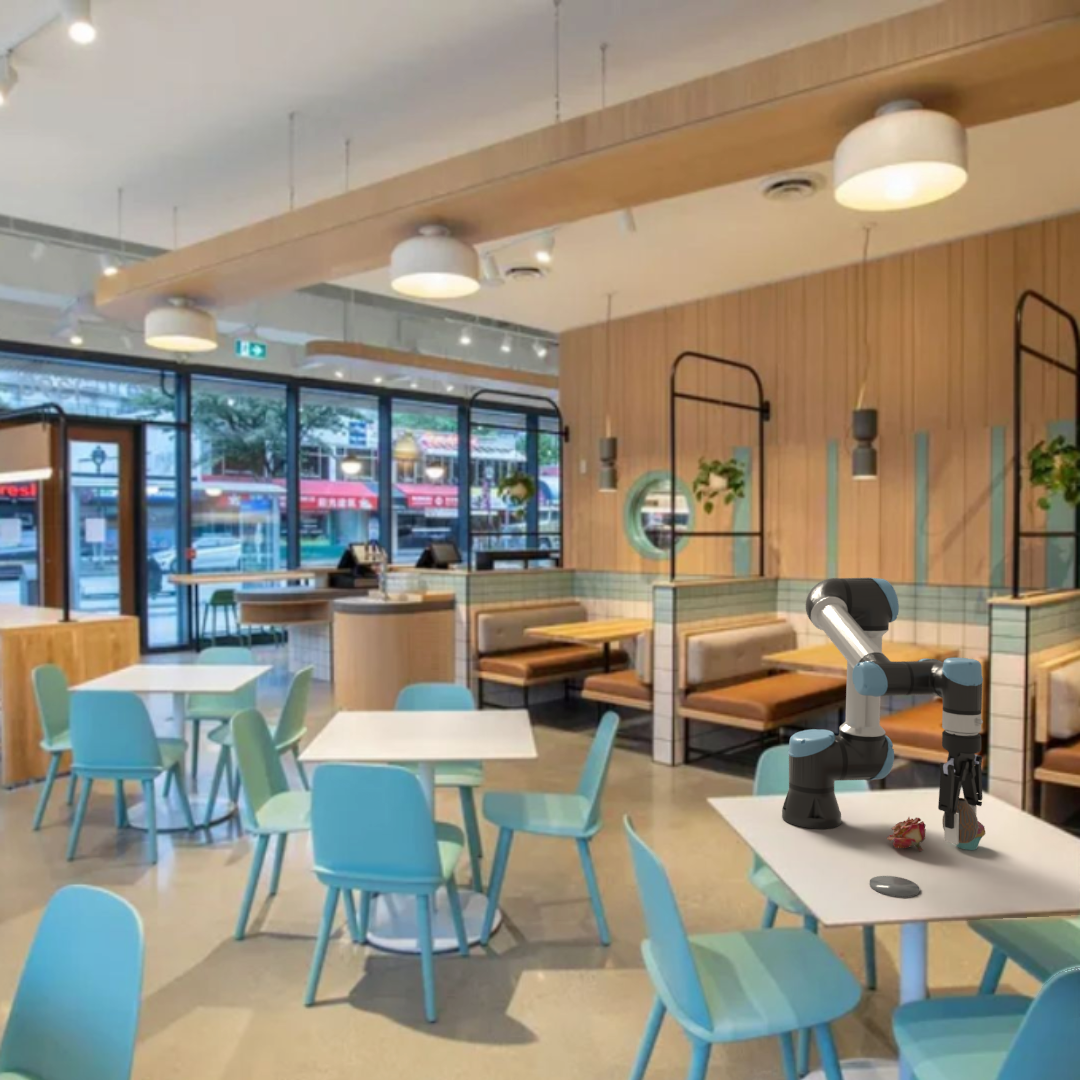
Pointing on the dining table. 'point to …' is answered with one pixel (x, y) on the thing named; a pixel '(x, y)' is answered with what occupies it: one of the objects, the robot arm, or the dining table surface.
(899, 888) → the grey flat disc
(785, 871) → the dining table surface
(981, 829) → the cupcake
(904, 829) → the flower
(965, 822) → the vase
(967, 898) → the dining table surface
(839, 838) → the dining table surface
